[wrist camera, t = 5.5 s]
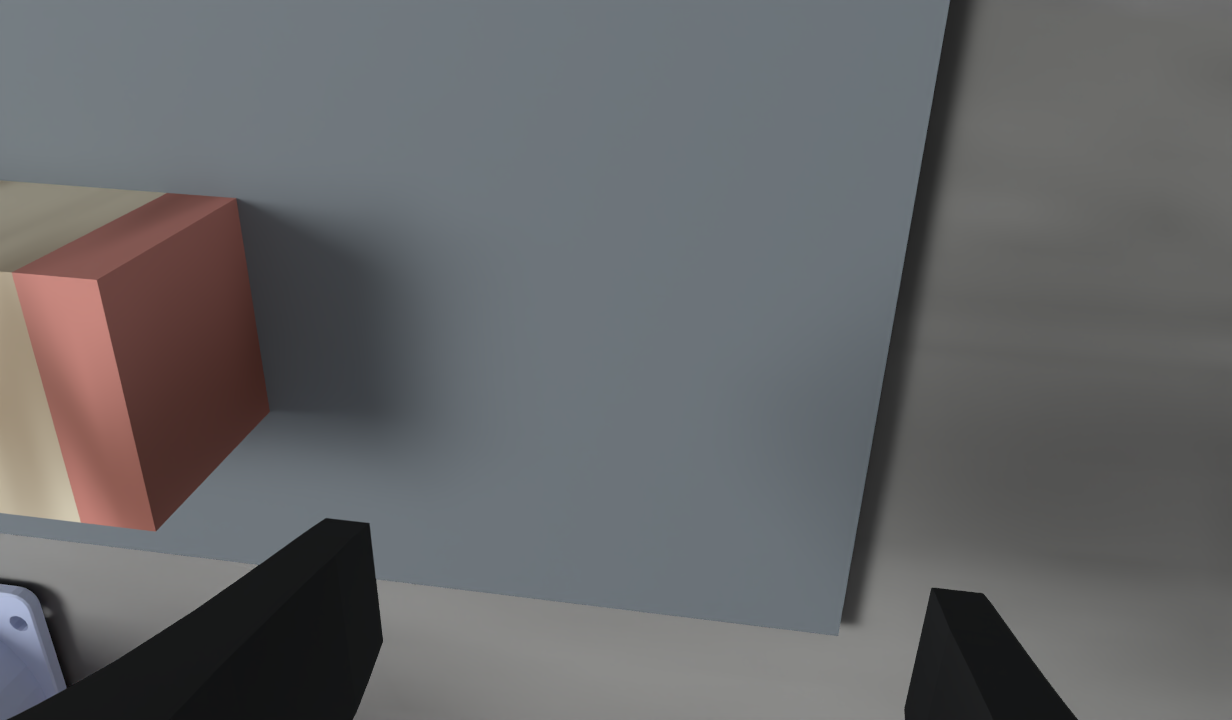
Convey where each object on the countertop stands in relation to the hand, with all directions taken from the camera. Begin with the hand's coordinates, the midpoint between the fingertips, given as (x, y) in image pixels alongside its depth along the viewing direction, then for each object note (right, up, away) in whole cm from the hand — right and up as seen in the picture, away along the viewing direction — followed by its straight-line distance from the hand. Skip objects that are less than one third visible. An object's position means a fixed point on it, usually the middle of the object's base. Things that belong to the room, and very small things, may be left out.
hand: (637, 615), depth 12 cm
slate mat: (-7, +5, +8) cm, 12 cm away
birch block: (-8, +3, +6) cm, 11 cm away
